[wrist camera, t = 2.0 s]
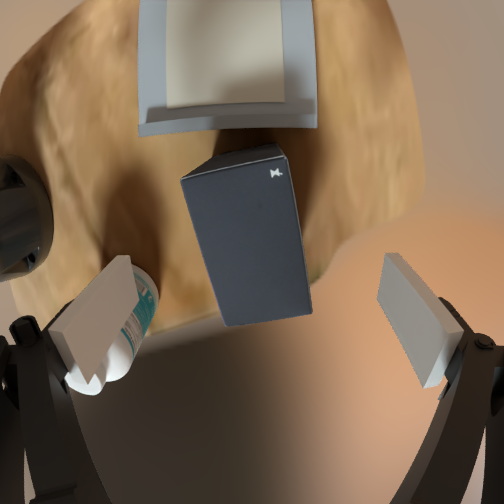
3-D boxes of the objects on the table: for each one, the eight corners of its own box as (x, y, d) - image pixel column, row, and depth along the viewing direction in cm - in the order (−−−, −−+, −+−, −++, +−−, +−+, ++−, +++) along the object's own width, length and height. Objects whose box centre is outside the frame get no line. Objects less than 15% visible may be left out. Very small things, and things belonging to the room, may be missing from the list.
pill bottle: (105, 310, 32) (52, 389, 20) (99, 255, 29) (27, 328, 17) (162, 322, 32) (123, 415, 20) (161, 265, 30) (107, 355, 17)
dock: (152, 135, 24) (133, 138, 20) (153, -14, 18) (136, -32, 14) (311, 128, 24) (321, 128, 20) (302, -26, 17) (309, -48, 13)
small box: (206, 156, 25) (172, 176, 15) (278, 140, 24) (291, 149, 15) (233, 263, 29) (221, 331, 20) (299, 251, 28) (317, 315, 19)
